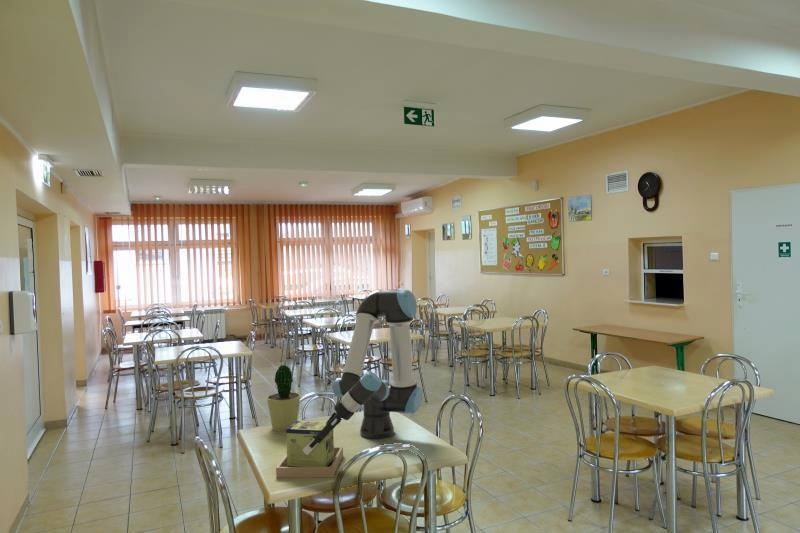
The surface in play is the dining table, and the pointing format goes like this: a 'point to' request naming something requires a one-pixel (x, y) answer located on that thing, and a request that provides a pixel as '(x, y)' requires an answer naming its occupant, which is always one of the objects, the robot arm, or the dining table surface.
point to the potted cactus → (283, 401)
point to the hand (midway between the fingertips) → (308, 446)
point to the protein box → (298, 441)
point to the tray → (309, 468)
